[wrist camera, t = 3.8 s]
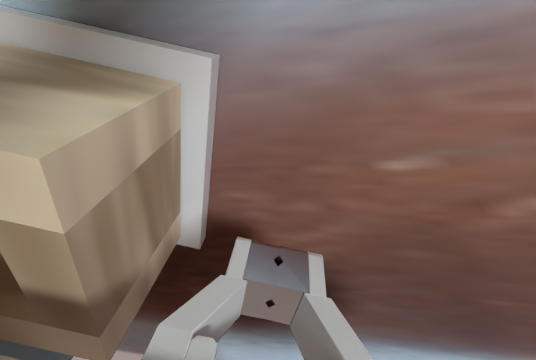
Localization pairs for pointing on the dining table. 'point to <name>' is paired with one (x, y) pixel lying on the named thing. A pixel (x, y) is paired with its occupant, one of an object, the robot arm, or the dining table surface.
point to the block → (83, 198)
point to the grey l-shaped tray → (147, 63)
